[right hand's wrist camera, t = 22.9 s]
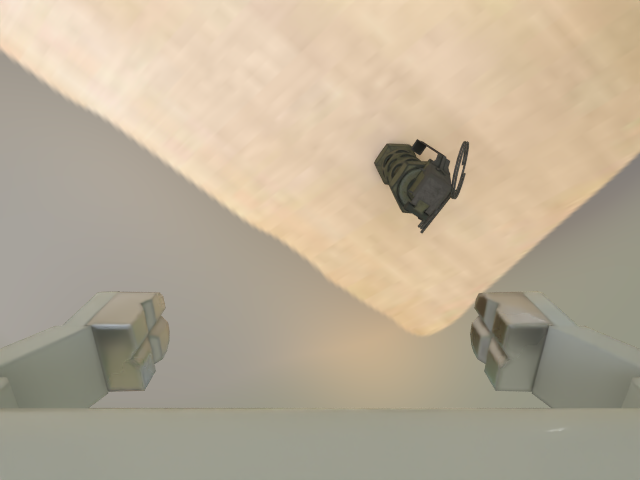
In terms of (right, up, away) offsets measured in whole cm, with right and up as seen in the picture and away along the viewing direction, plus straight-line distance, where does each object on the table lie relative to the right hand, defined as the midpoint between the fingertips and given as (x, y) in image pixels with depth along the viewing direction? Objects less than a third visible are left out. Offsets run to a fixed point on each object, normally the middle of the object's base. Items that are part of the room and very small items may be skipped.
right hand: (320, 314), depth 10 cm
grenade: (+10, +11, +35) cm, 39 cm away
